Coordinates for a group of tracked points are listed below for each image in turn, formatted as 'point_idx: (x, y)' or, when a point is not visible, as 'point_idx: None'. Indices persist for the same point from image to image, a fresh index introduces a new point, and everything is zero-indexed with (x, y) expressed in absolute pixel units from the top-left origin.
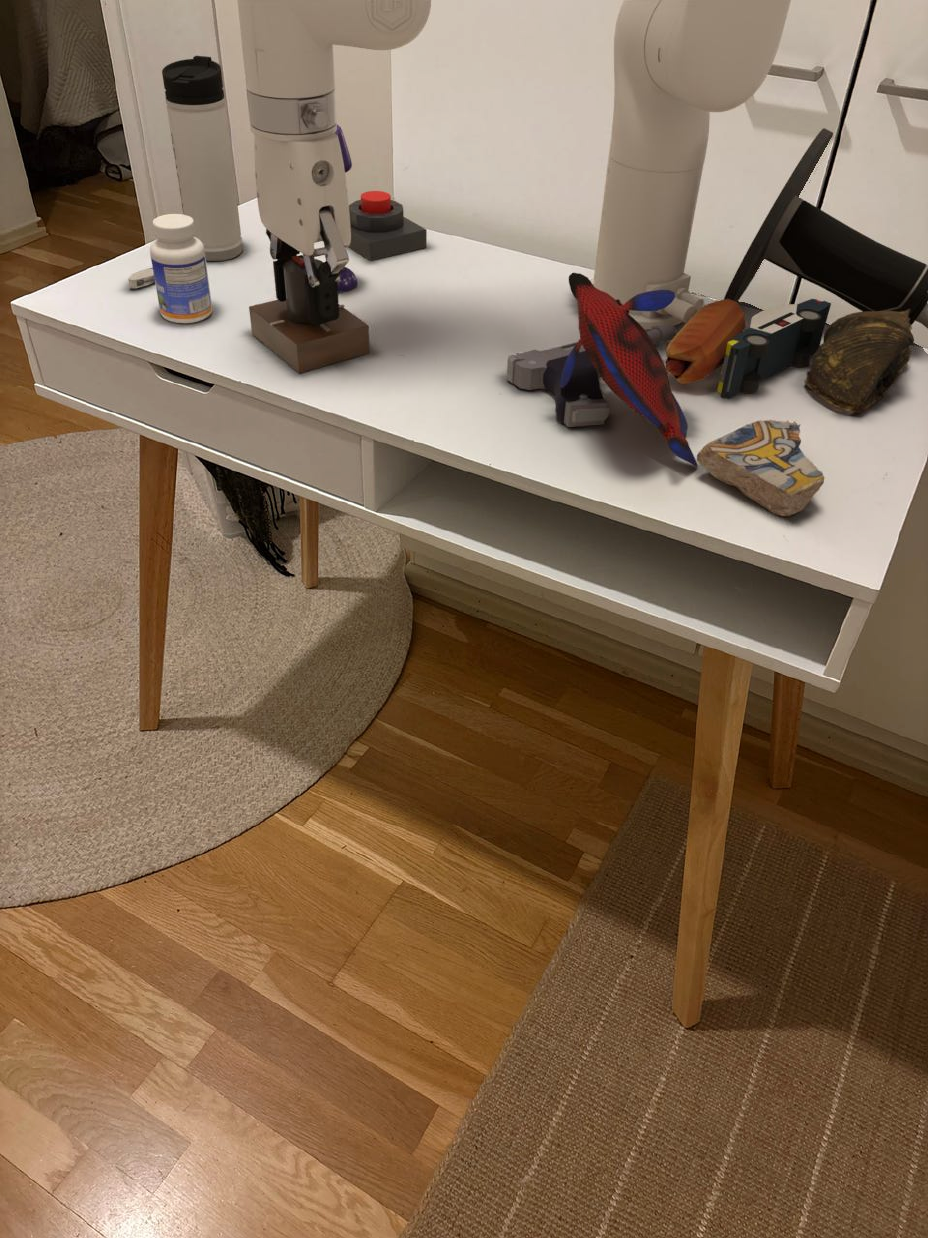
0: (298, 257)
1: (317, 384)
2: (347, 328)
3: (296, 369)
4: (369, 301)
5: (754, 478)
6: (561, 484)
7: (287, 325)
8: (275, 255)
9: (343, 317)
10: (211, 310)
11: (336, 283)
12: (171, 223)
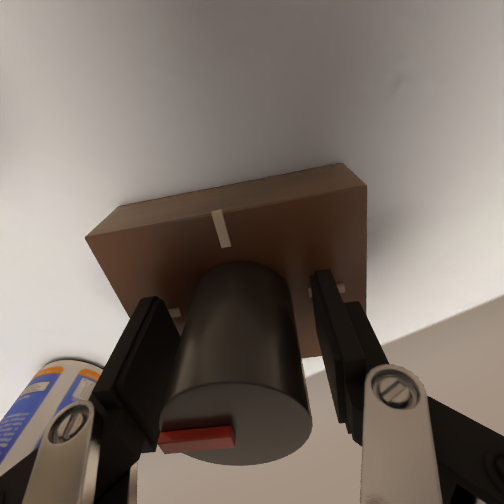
0: (179, 443)
1: (400, 292)
2: (353, 244)
3: None
4: (21, 33)
5: None
6: None
7: None
8: (136, 471)
9: (286, 233)
10: (84, 365)
11: (359, 347)
12: None
